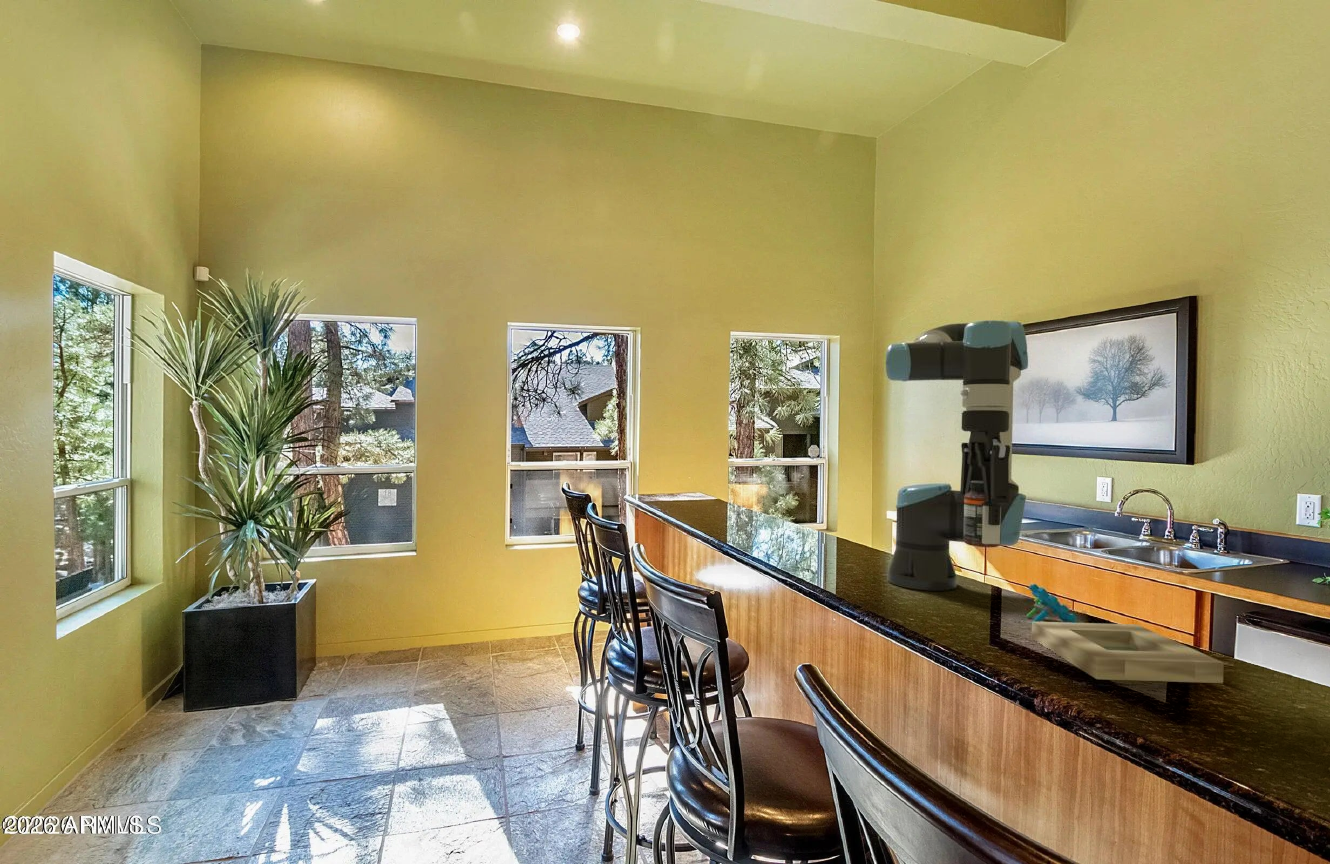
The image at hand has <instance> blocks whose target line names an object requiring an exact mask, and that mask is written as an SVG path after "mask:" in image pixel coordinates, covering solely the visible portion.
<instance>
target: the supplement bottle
mask: <svg viewBox="0 0 1330 864" xmlns="http://www.w3.org/2000/svg"><path fill="white" fill-rule="evenodd" d="M970 488H971V490H970V492H969V493H967V494H966V495H965V497H964V542H963V543H964V544H966V545H968V546H972V547H979V548H997V547H999V546H1001V545H1000V544H1001V518H1000V544H983V543H982V518H983V506H982V504H981V503H983V502H986V501H985V492H984V484H983V481H971V482H970Z"/></svg>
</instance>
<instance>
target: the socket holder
mask: <svg viewBox="0 0 1330 864" xmlns="http://www.w3.org/2000/svg"><path fill="white" fill-rule="evenodd" d="M1031 638H1032V639H1031V640H1033V641H1034V640H1035V642H1036V641H1037V642H1036V643H1038V644H1039V643H1040V644H1039V645H1041V644H1042V645H1043V647H1044V648H1045V649H1047V648H1048V649H1047V650H1049V649H1050V650H1051V652H1052V651H1053V652H1052V653H1053V654H1055V653H1056V654H1055V655H1057V656H1059V657H1060V656H1061V658H1062V659H1063V658H1064V659H1063V660H1065V661H1067V662H1068V663H1070V664H1072V665H1073V666H1075V667H1076V668H1078V669H1080V671H1083V672H1085V673H1086V674H1088V675H1089V676H1091V677H1093V678H1094V679H1096V680H1108V681H1109V680H1110V681H1111V680H1112V681H1115V680H1116V681H1143V682H1144V681H1145V682H1176V683H1177V682H1178V683H1203V684H1205V683H1207V684H1208V683H1209V684H1212V683H1213V684H1224V667H1225V665H1224V662H1223V661H1221V660H1219V659H1217V658H1214V657H1212V656H1210V655H1207V654H1205V653H1202V652H1200V651H1198V650H1197V649H1194V648H1192V647H1189V646H1187V645H1185V644H1183V643H1180V642H1178V641H1175V640H1173V639H1172V638H1169V637H1167V636H1164V635H1162V634H1160V633H1158V632H1156V631H1153V630H1151V629H1148V628H1146V627H1144V626H1141V625H1140V624H1132V623H1131V624H1130V623H1129V624H1127V623H1098V622H1097V623H1095V622H1091V623H1090V622H1079V623H1065V622H1063V621H1062V622H1061V621H1060V622H1059V621H1058V622H1057V621H1041V622H1032V621H1031ZM1042 645H1041V646H1042ZM1050 650H1049V651H1050Z"/></svg>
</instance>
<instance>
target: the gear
mask: <svg viewBox="0 0 1330 864" xmlns="http://www.w3.org/2000/svg"><path fill="white" fill-rule="evenodd" d="M1028 589H1029V590H1030V591H1031V595H1033V596H1034V597H1035V599H1034V600H1033V602H1034V604H1033V605H1032V606H1033V607H1034V608H1032V610H1031V611H1029V612H1028V613H1027V614H1026V617H1027V618H1028V619H1031V618H1032V617H1033V616H1034V615H1035V614H1036V613H1037V612H1040V613H1039V614H1038V615H1037V616H1036V617H1035V618H1033V620H1032V621H1031V623H1032V622H1043V620H1044V619H1045V618H1046V617H1048V616H1051V615H1054V616H1057V617H1058V618H1059V619H1060V620H1061V621H1062V622H1065V623H1080V621H1078V617H1077V616H1076V615H1075V614H1073V613H1070V612H1069V611H1070V608H1069V607H1068V606H1066V605H1065V604H1063V603H1062V604H1061V602H1060V601H1058V598H1057V597H1056V596H1055V595H1054V594H1050V593H1048V591H1047V590H1046V589H1045V588H1044V587H1042V586H1038V585H1037V583H1033V584H1030V585H1029V586H1028Z"/></svg>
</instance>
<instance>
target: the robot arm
mask: <svg viewBox="0 0 1330 864" xmlns="http://www.w3.org/2000/svg"><path fill="white" fill-rule="evenodd" d="M885 353H886V354H885V372H886V376H887V378H888V380H890V381H893V382H894V381H899V382H900V381H901V382H908V381H909V382H911V381H912V382H913V381H914V382H915V381H917V382H918V381H962V390H961V391H960V396H962V403H961V405H962V407H963V408H965V410H963V411H962V412H961V430H962V431H963V432H970V434H969V439H968V442H961V445H960V447H961V470H960V471H961V472H960V490H955V489H954V490H953V489H952V488H953V487H952V486H951V484H950V483H924V484H914V485H907V486H903V487H901V488H900V489H899V490H898V493H897V498H896V499H897V500H896V505H895V508H896V528H895V529H896V535H895V550H894V552H893V555H892V558H891V561H890V563H889V566H888V569H887V575H886V576H887V578H886V579H887V581H888V582H889V583H891V584H893V585H895V586H898V587H902V588H906V589H911V590H918V591H931V592H932V591H934V592H937V591H938V592H939V591H941V592H942V591H944V592H945V591H951V589H952V590H954V589H956V588H957V586H958V583H957V582H958V576H957V573H956V571H955V570H956V569H955V568H954V564H953V560H952V557H951V554H950V542H957V543H958V542H959V543H965V542H964V497H965V495H966V494H967V493H969V492H970V490H971V488H970V482H971V481H983V484H984V492H985V501H986V502H983V503H981V504H982V506H983V518H982V543H983V544H1000V518H1001V544H1000V545H999V546H1005V547H1006V546H1007V547H1010V546H1015V545H1016V544H1017V543H1018V542H1019V539H1020V533H1021V529H1022V524H1023V523H1022V522H1023V518H1024V517H1023V516H1024V510H1025V505H1026V498H1027V496H1026V495H1025V494H1023V493H1022V492H1021V493H1020V492H1019V491H1020V487H1019V485H1018V484H1017V483H1016V482H1015V481H1014V480H1013V479H1012V462H1013V461H1012V460H1013V458H1012V457H1013V425H1014V424H1013V419H1014V418H1013V417H1014V416H1013V415H1014V383H1015V382H1016V381H1017V380H1018V379H1020V377H1021V375H1022V371H1024V370H1026V369H1028V367H1029V356H1028V355H1029V354H1028V344H1027V337H1026V332H1025V327H1024V325H1023V324H1022V323H1021V322H1020V321H1015V320H1013V321H1010V320H1009V321H1004V320H978V321H974V322H967V323H966V322H965V323H964V322H963V323H949V324H944V325H940V326H937V327H935V328H932V329H928V330H926V331H924V332H922V333H920V334H919V335H918V336H917V337H916V338H915V339H914V341H913V342H901V343H891V344H890V345H889V346H887V349H886V352H885Z"/></svg>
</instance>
